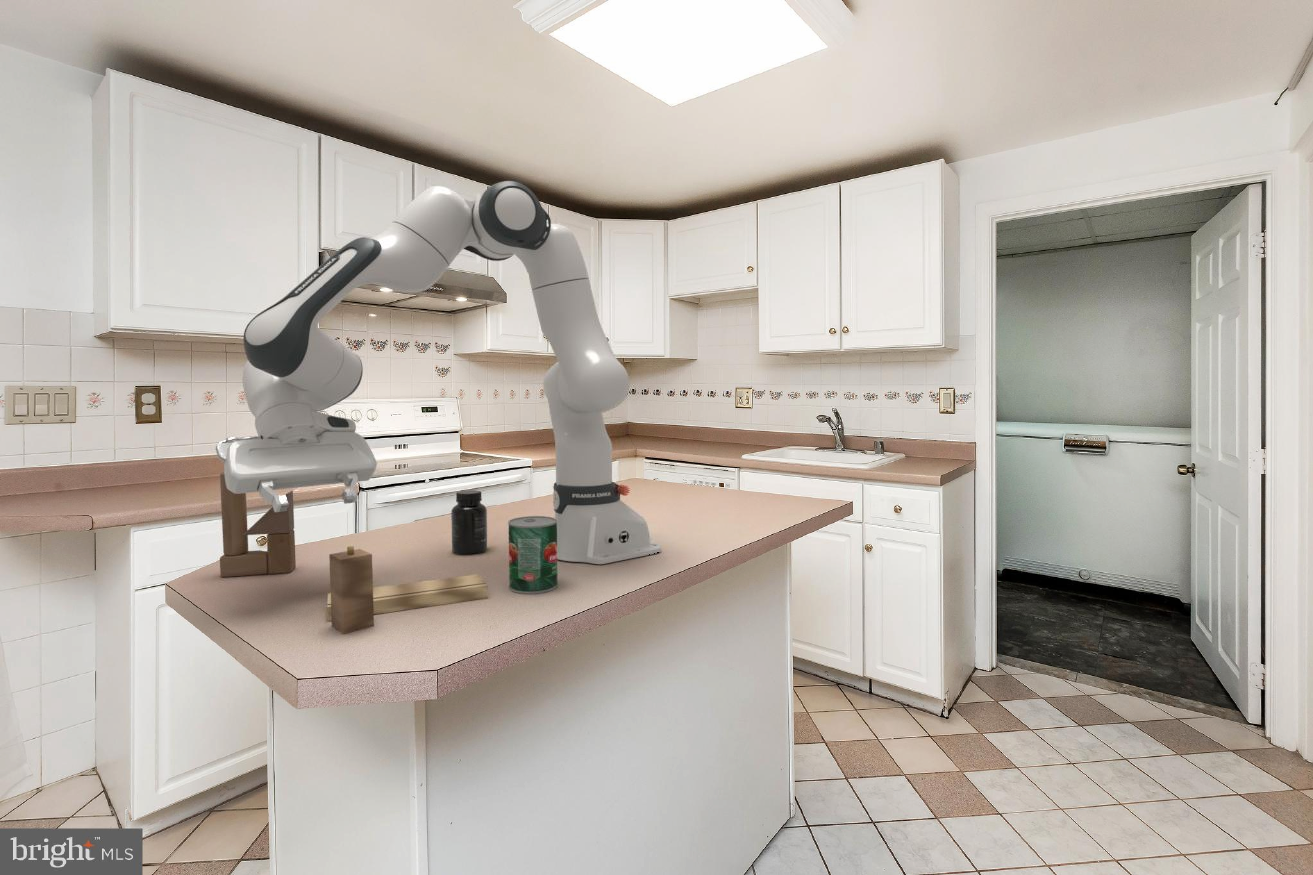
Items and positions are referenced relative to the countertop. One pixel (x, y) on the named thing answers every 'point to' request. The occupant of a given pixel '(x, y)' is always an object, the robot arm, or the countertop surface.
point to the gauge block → (351, 590)
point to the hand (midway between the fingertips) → (317, 504)
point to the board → (425, 594)
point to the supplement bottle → (469, 524)
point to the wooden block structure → (270, 523)
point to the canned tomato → (532, 554)
